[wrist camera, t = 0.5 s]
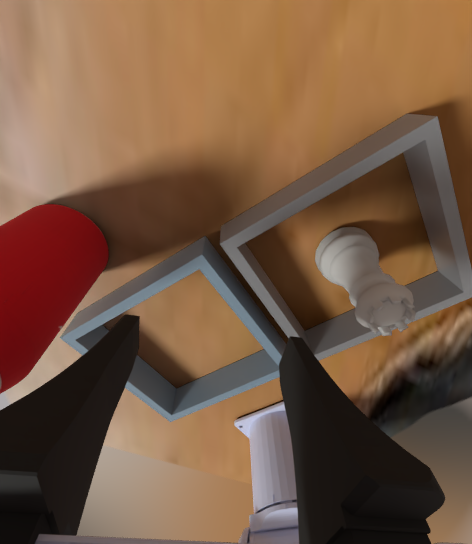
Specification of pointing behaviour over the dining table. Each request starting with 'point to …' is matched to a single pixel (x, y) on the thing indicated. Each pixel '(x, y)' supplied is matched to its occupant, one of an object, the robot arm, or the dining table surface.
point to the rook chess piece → (364, 280)
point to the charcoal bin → (334, 175)
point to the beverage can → (43, 281)
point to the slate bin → (207, 388)
